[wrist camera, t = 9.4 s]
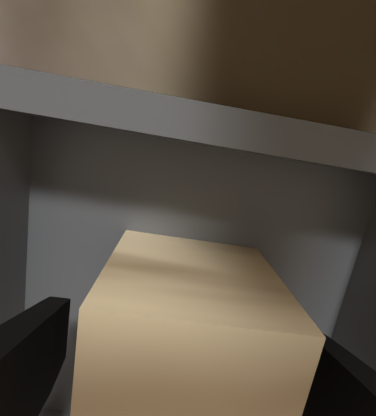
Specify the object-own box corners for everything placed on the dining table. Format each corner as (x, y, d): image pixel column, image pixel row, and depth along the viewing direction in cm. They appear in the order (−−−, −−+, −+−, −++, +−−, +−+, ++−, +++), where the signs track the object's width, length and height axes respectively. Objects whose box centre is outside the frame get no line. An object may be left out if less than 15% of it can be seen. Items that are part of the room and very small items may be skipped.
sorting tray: (554, 463, 14) (650, 544, 12) (2, 411, 12) (-51, 494, 9) (706, 206, 11) (888, 228, 8) (11, 81, 9) (-65, 52, 6)
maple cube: (231, 358, 12) (271, 513, 7) (112, 345, 11) (63, 499, 6) (257, 248, 11) (325, 337, 6) (126, 229, 10) (79, 309, 5)
